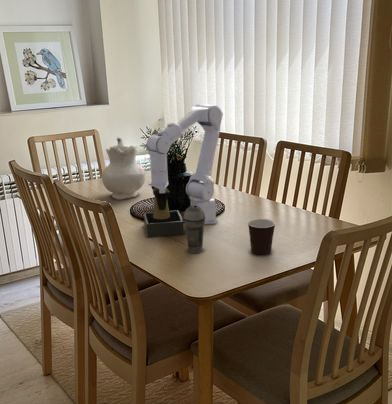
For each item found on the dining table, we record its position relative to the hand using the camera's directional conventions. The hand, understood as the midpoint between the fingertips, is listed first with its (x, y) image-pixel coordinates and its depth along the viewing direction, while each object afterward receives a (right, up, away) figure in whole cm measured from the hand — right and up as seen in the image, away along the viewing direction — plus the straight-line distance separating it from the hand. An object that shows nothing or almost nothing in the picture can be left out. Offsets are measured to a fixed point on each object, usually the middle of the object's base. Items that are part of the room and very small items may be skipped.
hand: (161, 207), depth 195 cm
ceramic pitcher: (-20, +8, +54) cm, 58 cm away
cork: (0, -3, +1) cm, 4 cm away
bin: (0, -8, +8) cm, 11 cm away
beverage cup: (+12, -15, -12) cm, 23 cm away
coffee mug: (+35, -15, -13) cm, 40 cm away
